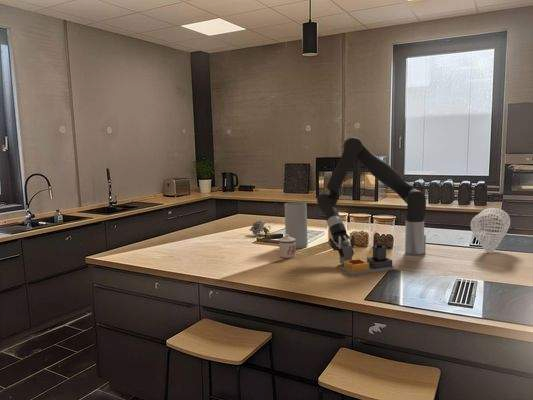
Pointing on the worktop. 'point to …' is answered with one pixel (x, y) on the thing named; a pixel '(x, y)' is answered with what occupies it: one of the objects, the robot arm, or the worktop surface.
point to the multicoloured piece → (369, 262)
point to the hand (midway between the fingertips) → (347, 255)
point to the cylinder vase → (296, 223)
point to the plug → (346, 252)
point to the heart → (499, 238)
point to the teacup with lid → (287, 247)
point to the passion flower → (259, 228)
